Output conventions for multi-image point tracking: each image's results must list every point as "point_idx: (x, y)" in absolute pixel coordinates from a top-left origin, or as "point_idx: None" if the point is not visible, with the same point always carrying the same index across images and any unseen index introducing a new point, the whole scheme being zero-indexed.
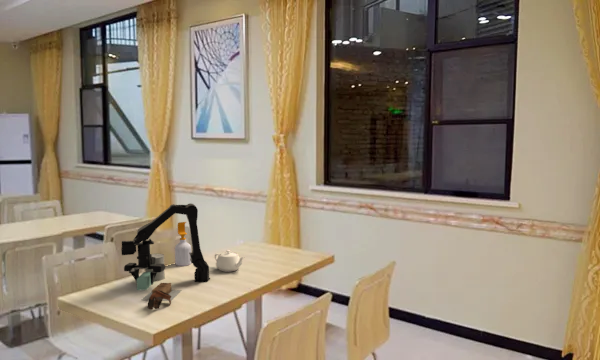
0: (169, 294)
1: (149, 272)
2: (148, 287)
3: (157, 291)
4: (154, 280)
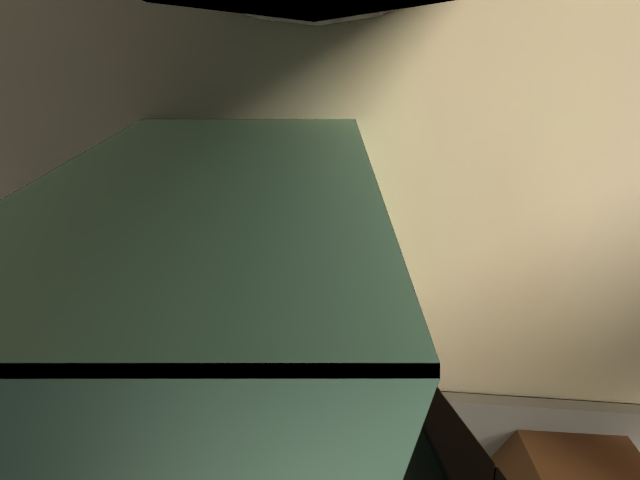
0: None
1: (233, 442)
2: (342, 367)
3: None
4: (373, 13)
